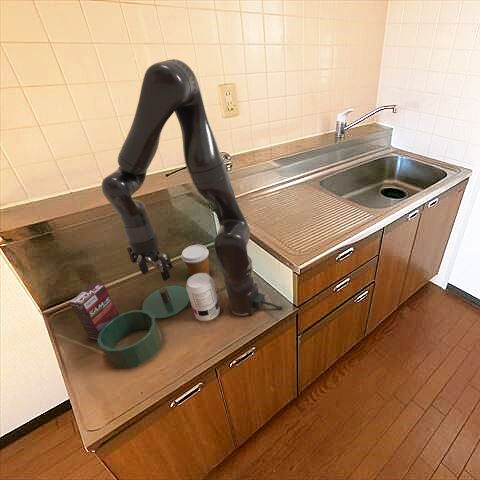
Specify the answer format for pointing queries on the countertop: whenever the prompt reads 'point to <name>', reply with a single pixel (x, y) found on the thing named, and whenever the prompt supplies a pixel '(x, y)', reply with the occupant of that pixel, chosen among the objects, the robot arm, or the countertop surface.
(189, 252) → the disposable coffee cup
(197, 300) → the supplement can
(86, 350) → the countertop surface
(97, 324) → the supplement box
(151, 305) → the lid
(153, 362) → the countertop surface
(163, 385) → the countertop surface
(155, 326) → the pot
